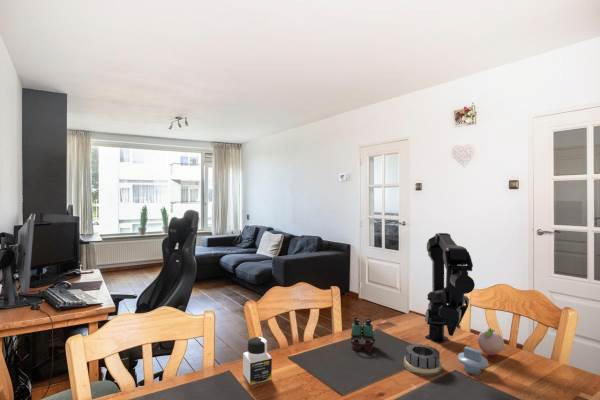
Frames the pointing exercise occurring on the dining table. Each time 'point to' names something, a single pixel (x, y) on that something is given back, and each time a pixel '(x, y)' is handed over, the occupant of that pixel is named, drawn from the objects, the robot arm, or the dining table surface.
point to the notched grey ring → (422, 360)
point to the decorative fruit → (490, 342)
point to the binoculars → (362, 335)
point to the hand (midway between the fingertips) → (453, 330)
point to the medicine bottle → (257, 361)
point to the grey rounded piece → (472, 360)
